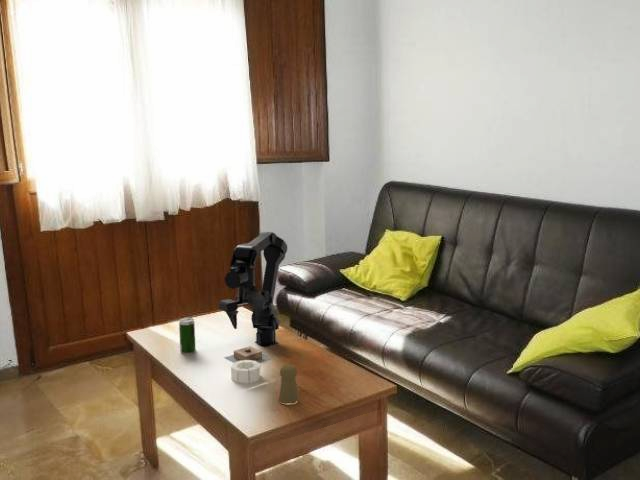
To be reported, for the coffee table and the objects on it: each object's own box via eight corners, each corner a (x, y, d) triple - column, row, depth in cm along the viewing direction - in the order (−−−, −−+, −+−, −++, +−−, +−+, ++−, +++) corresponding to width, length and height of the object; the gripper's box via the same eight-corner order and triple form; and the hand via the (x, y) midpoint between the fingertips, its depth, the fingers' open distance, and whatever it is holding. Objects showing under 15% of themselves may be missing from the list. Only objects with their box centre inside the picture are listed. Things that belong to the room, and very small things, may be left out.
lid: (250, 352, 235) (250, 344, 234) (262, 358, 229) (262, 349, 229) (233, 357, 230) (233, 349, 229) (245, 363, 225) (245, 354, 224)
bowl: (249, 370, 220) (249, 357, 219) (265, 378, 213) (265, 365, 212) (226, 378, 214) (226, 364, 213) (242, 386, 208) (242, 373, 207)
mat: (252, 350, 238) (252, 349, 238) (272, 359, 229) (272, 358, 229) (223, 358, 230) (223, 357, 230) (243, 368, 221) (243, 367, 221)
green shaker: (278, 397, 200) (277, 362, 198) (298, 396, 201) (298, 362, 199) (278, 405, 194) (278, 370, 192) (299, 405, 195) (299, 370, 193)
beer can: (183, 355, 233) (182, 323, 231) (178, 351, 237) (176, 319, 235) (198, 352, 236) (196, 320, 234) (192, 348, 240) (190, 316, 238)
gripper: (236, 290, 213) (236, 337, 215) (282, 282, 224) (282, 326, 227) (217, 284, 221) (218, 329, 224) (263, 276, 233) (263, 319, 236)
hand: (246, 326), depth 227 cm, fingers open, 9 cm apart
